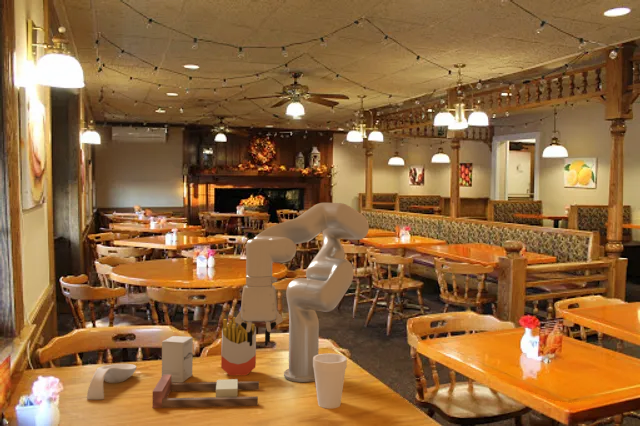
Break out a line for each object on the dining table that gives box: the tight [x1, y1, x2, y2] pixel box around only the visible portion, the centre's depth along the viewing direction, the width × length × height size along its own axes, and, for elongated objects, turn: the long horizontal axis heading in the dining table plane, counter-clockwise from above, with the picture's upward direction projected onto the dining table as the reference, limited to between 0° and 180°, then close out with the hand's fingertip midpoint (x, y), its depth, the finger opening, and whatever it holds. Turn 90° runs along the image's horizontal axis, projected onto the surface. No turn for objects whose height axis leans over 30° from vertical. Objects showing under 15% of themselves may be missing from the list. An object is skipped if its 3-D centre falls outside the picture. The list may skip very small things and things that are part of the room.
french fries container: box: [220, 316, 257, 376], centre depth 179 cm, size 5×11×18 cm, turn 94°
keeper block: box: [215, 378, 239, 397], centre depth 158 cm, size 6×8×4 cm
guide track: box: [152, 374, 260, 409], centre depth 158 cm, size 28×14×4 cm, turn 95°
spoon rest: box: [86, 363, 137, 401], centre depth 167 cm, size 24×12×7 cm, turn 2°
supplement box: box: [161, 335, 194, 383], centre depth 174 cm, size 7×7×13 cm
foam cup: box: [313, 352, 348, 409], centre depth 153 cm, size 10×9×13 cm
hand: (258, 344), depth 159 cm, fingers open, 3 cm apart
